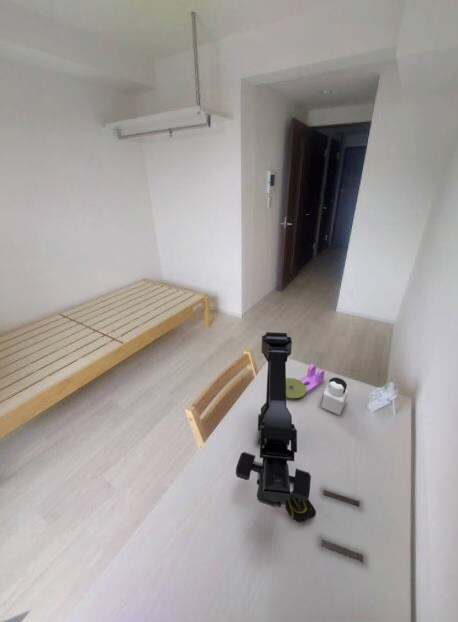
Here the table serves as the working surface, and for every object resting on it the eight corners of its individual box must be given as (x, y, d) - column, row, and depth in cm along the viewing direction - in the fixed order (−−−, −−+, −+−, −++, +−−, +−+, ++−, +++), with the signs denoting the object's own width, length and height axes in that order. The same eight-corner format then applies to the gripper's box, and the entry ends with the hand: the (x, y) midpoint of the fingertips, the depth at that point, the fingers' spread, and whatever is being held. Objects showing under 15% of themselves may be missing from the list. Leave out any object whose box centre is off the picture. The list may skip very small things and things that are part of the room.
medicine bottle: (326, 395, 108) (331, 372, 102) (344, 403, 104) (351, 380, 98) (320, 407, 103) (325, 383, 97) (339, 415, 99) (345, 391, 93)
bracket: (311, 375, 118) (313, 362, 115) (322, 382, 115) (325, 369, 111) (292, 388, 111) (294, 375, 108) (303, 396, 108) (305, 383, 104)
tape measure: (316, 519, 70) (318, 511, 68) (292, 528, 68) (294, 521, 67) (302, 492, 76) (303, 484, 74) (280, 500, 74) (281, 493, 72)
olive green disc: (310, 389, 110) (311, 386, 110) (297, 406, 103) (297, 402, 102) (286, 377, 117) (287, 374, 116) (272, 392, 110) (272, 388, 109)
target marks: (321, 545, 65) (321, 545, 65) (323, 490, 76) (323, 489, 76) (362, 561, 63) (363, 561, 62) (358, 502, 74) (359, 501, 73)
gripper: (228, 475, 63) (229, 511, 70) (310, 504, 57) (302, 540, 64) (242, 435, 72) (241, 470, 79) (314, 457, 66) (306, 493, 74)
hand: (270, 492), depth 74 cm, fingers closed
